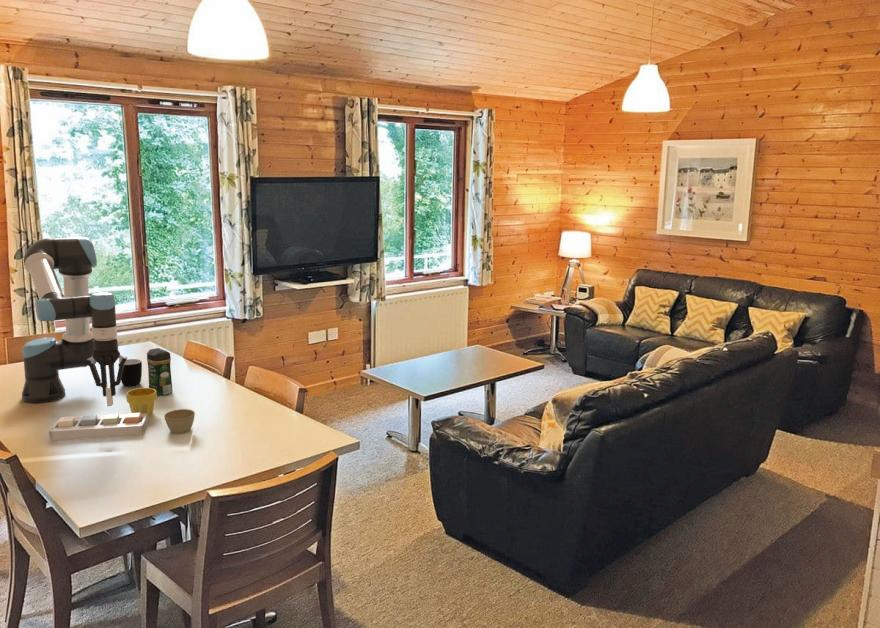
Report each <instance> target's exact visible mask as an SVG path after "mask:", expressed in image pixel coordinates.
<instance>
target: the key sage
mask: <svg viewBox="0 0 880 628" xmlns="http://www.w3.org/2000/svg"><path fill="white" fill-rule="evenodd" d="M119 415H120V413H111V414H110V413H109V414H104V415H103V416H104V418H103V425H108V424H118V422H119Z"/></svg>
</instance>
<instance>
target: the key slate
mask: <svg viewBox="0 0 880 628" xmlns="http://www.w3.org/2000/svg"><path fill="white" fill-rule="evenodd" d="M97 416H98V415H97V414H96V415H95V414H93V415H92V414H91V415H83V416H81V417H82V419H81V420H80V421H81V426H92V425H96V424H97V422H98V419H97Z"/></svg>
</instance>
